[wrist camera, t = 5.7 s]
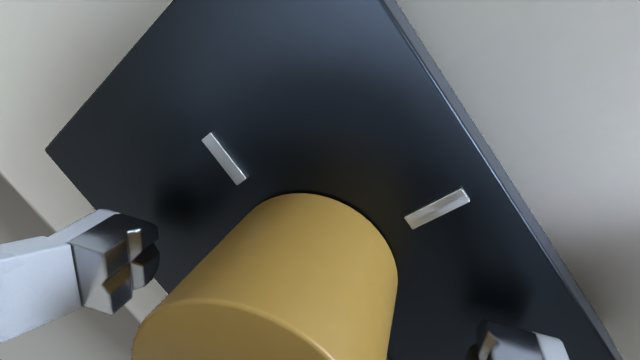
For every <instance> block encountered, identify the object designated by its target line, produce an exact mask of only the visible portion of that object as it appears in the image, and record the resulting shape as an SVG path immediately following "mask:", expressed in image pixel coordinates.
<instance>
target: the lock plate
mask: <svg viewBox="0 0 640 360" xmlns="http://www.w3.org/2000/svg"><path fill="white" fill-rule="evenodd" d="M45 151H46V153H47V154H48V155H49V156H50V157H51V158H52V160H53V161H54V162H55V163H56V164H57V165H58V167H59V168H60V169H61V170H62V171H63V172H64V174H65V175H66V176H67V177H68V178H69V179H70V181H71V182H72V183H73V184H74V185H75V186H76V187H77V189H78V190H79V191H80V192H81V193H82V194H83V196H84V197H85V198H86V199H87V200H88V201H89V203H90V204H91V205H92V206H93V207H94V208H95V210H98V209H108V210H111V211H115V212H118V213H120V214H121V213H122V214H125V215H128V216H131V217H135V218H138V219H141V220H144V221H147V222H151V223H153V224H154V225H155V226H157V228H158V237H159V238H158V239H157V241H156V242H155V243H154V244H155V246H156V247H157V249H158V251H159V252H160V262H159V267H158V270H157V272H156V273H155V275H154V278H155V279H156V280H157V281H158V283H159V284H160V285H161V286H162V287H163V288H164V290H165V291H166V292H167V293H168V294H169V293H170V292H171V291H172V290H173V289H174V288H175V287H176V286H177V285H178V284H179V283H180V282H181V281H182V280H183V279H184V278H185V277H186V276H187V275H188V274H189V273H190V272H191V271H192V270H193V269H194V268H195V267H196V266H197V265H198V264H199V263H200V262H201V261H202V260H203V259H204V258H205V257H206V256H207V255H208V254H209V253H210V252H211V251H212V250H213V249H214V248H215V247H216V246H217V245H218V244H219V243H220V242H221V241H222V240H223V239H224V238H225V237H226V236H227V235H228V234H229V233H230V232H231V231H232V230H233V229H234V228H235V227H236V226H237V225H238V224H239V223H240V222H241V221H242V219H243V218H244V217H245V216H246V215H247V214H248V213H249V212H251V211H252V210H253V209H254V208H255V207H256V206H258V205H259V204H261V203H262V202H264V201H266V200H269V199H271V198H273V197H277V196H280V195H285V194H292V193H307V194H316V195H320V196H324V197H328V198H331V199H334V200H336V201H339V202H341V203H343V204H345V205H347V206H349V207H351V208H352V209H354V210H355V211H357V212H358V213H360V214H361V215H362V216H364V217H365V218H366V219H367V220H368V221H370V222H371V223H372V225H373V226H374V227H375V228H376V229H377V230H378V231H379V232H380V234H381V235H382V237H383V238H384V239H385V241H386V243H387V244H388V246H389V248H390V250H391V252H392V255H393V257H394V260H395V264H396V268H397V276H398V285H397V294H396V300H395V306H394V313H393V319H392V326H391V332H390V338H389V345H388V351H387V357H386V360H465V358H466V355H467V353H468V350H469V347H470V346H472V345H474V344H476V343H477V340H476V330H477V327H478V325H479V323H480V321H481V320H482V319H483V318H484V319H487V320H491V321H494V322H498V323H501V324H505V325H508V326H512V327H516V328H519V329H523V330H526V331H530V332H536V333H540V334H544V335H548V336H551V337H555V338H559V339H560V340H561V341H562V342H563V345H564V347H565V350H566V352H567V355H568V357H569V360H622V358H621V356H620V354H619V353H618V351H617V349H616V347H615V345H614V343H613V341H612V340H611V338H610V336H609V334H608V332H607V330H606V328H605V327H604V325H603V323H602V322H601V320H600V319H599V317H598V315H597V314H596V312H595V311H594V309H593V308H592V306H591V305H590V303H589V301H588V300H587V298H586V297H585V295H584V294H583V292H582V291H581V289H580V287H579V286H578V284H577V283H576V281H575V280H574V278H573V277H572V275H571V273H570V272H569V270H568V269H567V267H566V266H565V264H564V263H563V261H562V259H561V258H560V256H559V255H558V253H557V252H556V250H555V249H554V247H553V245H552V244H551V242H550V241H549V239H548V238H547V236H546V235H545V233H544V231H543V230H542V228H541V227H540V225H539V224H538V222H537V221H536V219H535V217H534V216H533V214H532V213H531V211H530V210H529V208H528V206H527V205H526V203H525V202H524V200H523V199H522V197H521V196H520V194H519V192H518V191H517V189H516V188H515V186H514V185H513V183H512V182H511V180H510V178H509V177H508V175H507V174H506V172H505V171H504V169H503V168H502V166H501V164H500V163H499V161H498V160H497V158H496V157H495V155H494V154H493V152H492V150H491V149H490V147H489V146H488V144H487V143H486V141H485V140H484V138H483V136H482V135H481V133H480V132H479V130H478V129H477V127H476V126H475V124H474V122H473V121H472V119H471V118H470V116H469V115H468V113H467V112H466V110H465V108H464V107H463V105H462V104H461V102H460V101H459V99H458V98H457V96H456V94H455V93H454V91H453V90H452V88H451V87H450V85H449V84H448V82H447V80H446V79H445V77H444V76H443V74H442V73H441V71H440V70H439V68H438V66H437V65H436V63H435V62H434V60H433V59H432V57H431V56H430V54H429V52H428V51H427V49H426V48H425V46H424V45H423V43H422V41H421V40H420V38H419V37H418V35H417V34H416V32H415V31H414V29H413V27H412V26H411V24H410V23H409V21H408V20H407V18H406V17H405V15H404V13H403V12H402V10H401V9H400V7H399V6H398V4H397V3H396V1H395V0H173V1H172V3H171V4H170V5H169V6H168V7H167V8H166V10H165V11H164V12H163V13H162V14H161V15H160V16H159V18H158V19H157V20H156V21H155V22H154V23H153V25H152V26H151V27H150V28H149V29H148V30H147V32H146V33H145V34H144V35H143V36H142V37H141V38H140V40H139V41H138V42H137V43H136V44H135V45H134V47H133V48H132V49H131V50H130V51H129V52H128V54H127V55H126V56H125V57H124V58H123V59H122V61H121V62H120V63H119V64H118V65H117V66H116V67H115V69H114V70H113V71H112V72H111V73H110V74H109V76H108V77H107V78H106V79H105V80H104V81H103V83H102V84H101V85H100V86H99V87H98V88H97V89H96V91H95V92H94V93H93V94H92V95H91V96H90V98H89V99H88V100H87V101H86V102H85V103H84V105H83V106H82V107H81V108H80V109H79V110H78V111H77V113H76V114H75V115H74V116H73V117H72V118H71V120H70V121H69V122H68V123H67V124H66V125H65V127H64V128H63V129H62V130H61V131H60V132H59V133H58V135H57V136H56V137H55V138H54V139H53V140H52V142H51V143H50V144H49V145H48V146H47V147H46V149H45Z"/></svg>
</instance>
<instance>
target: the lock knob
mask: <svg viewBox="0 0 640 360" xmlns="http://www.w3.org/2000/svg"><path fill="white" fill-rule="evenodd" d="M397 285H398V276H397V268H396V264H395V260H394V257H393V255H392V252H391V250H390V248H389V246H388V244H387V243H386V241H385V239H384V238H383V237H382V235H381V234H380V232H379V231H378V230H377V229H376V228H375V227H374V226H373V225H372V223H371V222H370V221H368V220H367V219H366V218H365V217H364V216H362V215H361V214H360V213H358V212H357V211H355V210H354V209H352V208H351V207H349V206H347V205H345V204H343V203H341V202H339V201H336V200H334V199H331V198H328V197H324V196H320V195H316V194H307V193H292V194H285V195H280V196H277V197H273V198H271V199H269V200H266V201H264V202H262V203H261V204H259V205H258V206H256V207H255V208H254V209H253V210H252V211H251V212H249V213H248V214H247V215H246V216H245V217H244V218H243V219H242V221H241V222H240V223H239V224H238V225H237V226H236V227H235V228H234V229H233V230H232V231H231V232H230V233H229V234H228V235H227V236H226V237H225V238H224V239H223V240H222V241H221V242H220V243H219V244H218V245H217V246H216V247H215V248H214V249H213V250H212V251H211V252H210V253H209V254H208V255H207V256H206V257H205V258H204V259H203V260H202V261H201V262H200V263H199V264H198V265H197V266H196V267H195V268H194V269H193V270H192V271H191V272H190V273H189V274H188V275H187V276H186V277H185V278H184V279H183V280H182V281H181V282H180V283H179V284H178V285H177V286H176V287H175V288H174V289H173V290H172V291H171V292H170V293H169V294H168V296H167V297H166V298H165V299H164V300H163V301H162V302H161V303H160V304H159V305H158V306H157V307H156V308H155V309H154V310H153V311H152V312H151V313H150V314H149V315H148V316H147V317H146V318H145V319H144V321H143V322H142V323H141V325H140V326H139V328H138V330H137V333H136V335H135V337H134V341H133V345H132V352H131V353H132V354H131V360H386V357H387V351H388V345H389V338H390V332H391V326H392V319H393V313H394V306H395V300H396V294H397Z"/></svg>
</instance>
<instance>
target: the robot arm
mask: <svg viewBox="0 0 640 360" xmlns="http://www.w3.org/2000/svg"><path fill="white" fill-rule="evenodd" d="M158 238H159V237H158V228H157V226H155V225H154V224H153V223H151V222H147V221H144V220H141V219H138V218H135V217H131V216H128V215H125V214H122V213H121V214H120V213H118V212H115V211H111V210H108V209H98V210H96V211H95V212H93V213H91V214H89V215H87V216H86V217H84V218H82V219H80V220H78V221H76V222H75V223H73V224H71V225H69V226H67V227H65V228H64V229H62V230H60V231H58V232H56V233H54V234H53V235H51V236H49V237H44V236H39V237H34V238H29V239H24V240H19V241H14V242H10V243H5V244H0V343H2V342H5V341H7V340H9V339H11V338H14V337H16V336H18V335H21V334H23V333H25V332H28V331H30V330H32V329H35V328H37V327H39V326H41V325H44V324H46V323H48V322H51V321H53V320H55V319H57V318H60V317H62V316H65V315H67V314H69V313H71V312H74V311H76V310H78V309H80V308H82V306H83V307H86V308H89V309H93V310H96V311H99V312H102V313H105V314H108V315H111V316H112V315H113V314H114V313H116V312H117V311H118V310H119V309H120V308H121V307H122V306H123V305H124V304H126V303H127V302H128V301H129V300H130V299H131V298H132V294H133V290H136V289H138V288H141V287H144V286H145V285H147V284H148V283H149V282H150V281H151V280H152V279H153V277H154V275H155V273H156V272H157V270H158V267H159V262H160V252H159V251H158V249H157V247H156V246H155V244H154V243H155V242H156V241H157V239H158ZM476 340H477V343H476V344H474V345H472V346H470V347H469V350H468V353H467V355H466V358H465V360H569V357H568V355H567V352H566V350H565V347H564V345H563V342H562V341H561V340H560V339H559V338H555V337H551V336H548V335H544V334H540V333H536V332H530V331H526V330H523V329H519V328H516V327H512V326H508V325H505V324H501V323H498V322H494V321H491V320H487V319H484V318H483V319H482V320H481V321H480V323H479V325H478V327H477V330H476Z"/></svg>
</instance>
